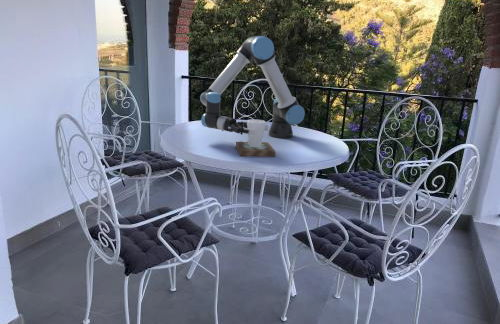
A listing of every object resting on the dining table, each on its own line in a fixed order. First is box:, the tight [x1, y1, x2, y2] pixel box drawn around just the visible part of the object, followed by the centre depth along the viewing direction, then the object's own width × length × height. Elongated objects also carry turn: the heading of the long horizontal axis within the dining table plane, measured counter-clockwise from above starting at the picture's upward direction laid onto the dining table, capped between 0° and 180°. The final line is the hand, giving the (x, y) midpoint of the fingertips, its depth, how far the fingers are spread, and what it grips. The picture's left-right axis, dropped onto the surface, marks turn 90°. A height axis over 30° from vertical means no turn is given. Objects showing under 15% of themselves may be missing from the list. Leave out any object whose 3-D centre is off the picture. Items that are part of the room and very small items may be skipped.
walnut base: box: [235, 141, 276, 158], centre depth 215 cm, size 18×18×3 cm
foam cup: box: [246, 119, 266, 147], centre depth 213 cm, size 10×9×13 cm
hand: (261, 130), depth 211 cm, fingers open, 13 cm apart
